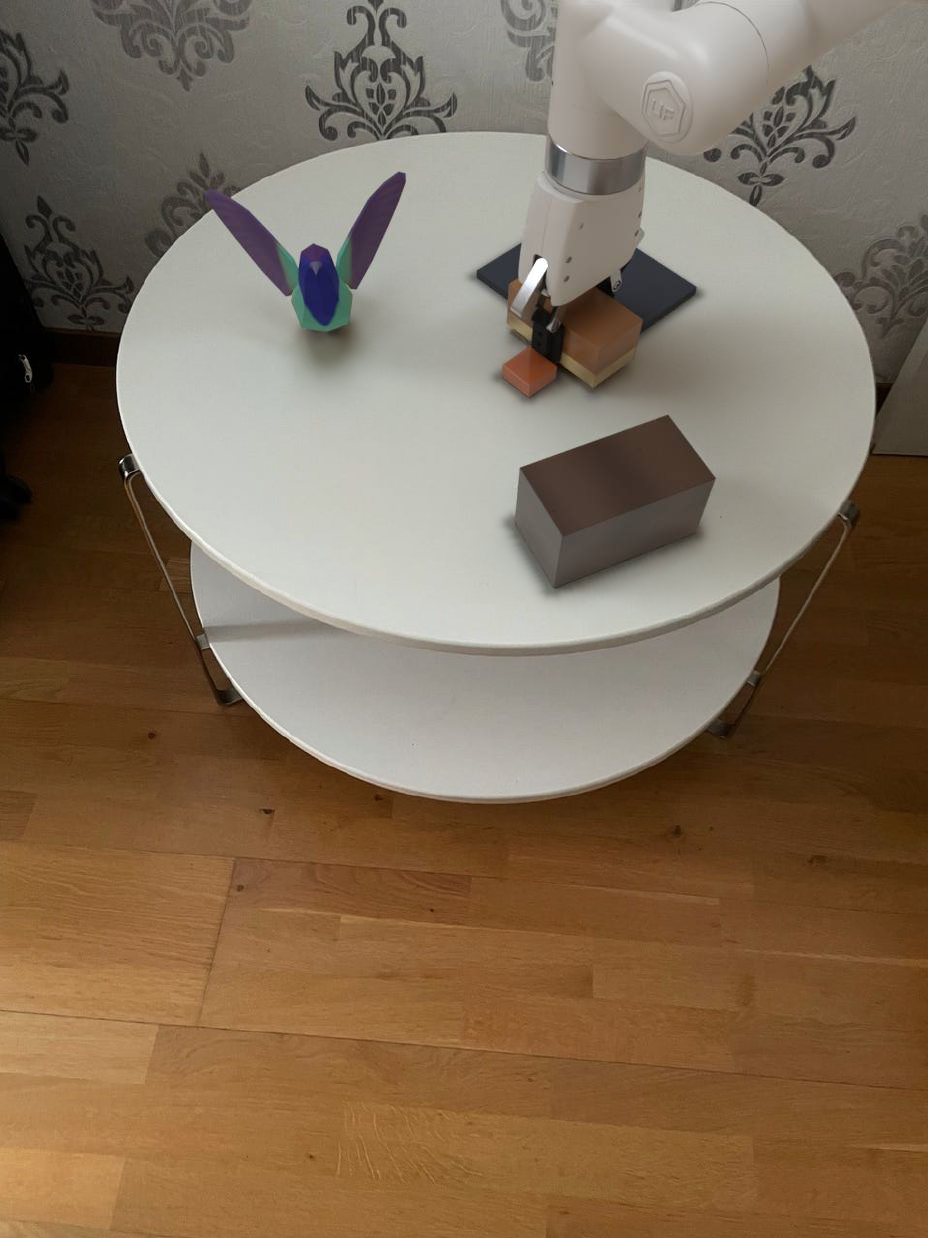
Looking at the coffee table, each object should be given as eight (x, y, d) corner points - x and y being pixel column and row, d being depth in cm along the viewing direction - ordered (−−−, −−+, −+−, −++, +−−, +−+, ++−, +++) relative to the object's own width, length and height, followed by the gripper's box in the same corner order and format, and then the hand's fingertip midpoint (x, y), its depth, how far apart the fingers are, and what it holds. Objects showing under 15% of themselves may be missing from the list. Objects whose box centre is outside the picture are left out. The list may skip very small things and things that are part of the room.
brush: (506, 323, 88) (508, 283, 84) (548, 295, 89) (552, 255, 86) (592, 388, 84) (599, 349, 80) (634, 358, 85) (643, 319, 82)
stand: (652, 471, 80) (668, 413, 74) (696, 533, 77) (716, 477, 71) (514, 522, 77) (519, 467, 71) (553, 588, 74) (562, 536, 68)
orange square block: (556, 378, 85) (557, 366, 84) (528, 397, 84) (529, 385, 83) (528, 357, 87) (530, 345, 85) (501, 376, 86) (502, 364, 84)
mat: (695, 293, 91) (697, 286, 91) (596, 364, 86) (597, 357, 86) (575, 214, 97) (576, 207, 97) (476, 277, 92) (476, 270, 92)
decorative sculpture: (239, 425, 82) (199, 285, 69) (231, 282, 92) (195, 134, 79) (434, 403, 84) (430, 261, 71) (407, 264, 93) (399, 117, 80)
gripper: (635, 86, 75) (604, 274, 91) (477, 177, 69) (472, 361, 85) (708, 129, 72) (663, 315, 88) (550, 226, 66) (532, 408, 82)
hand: (570, 336), depth 86 cm, fingers closed on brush, 5 cm apart
